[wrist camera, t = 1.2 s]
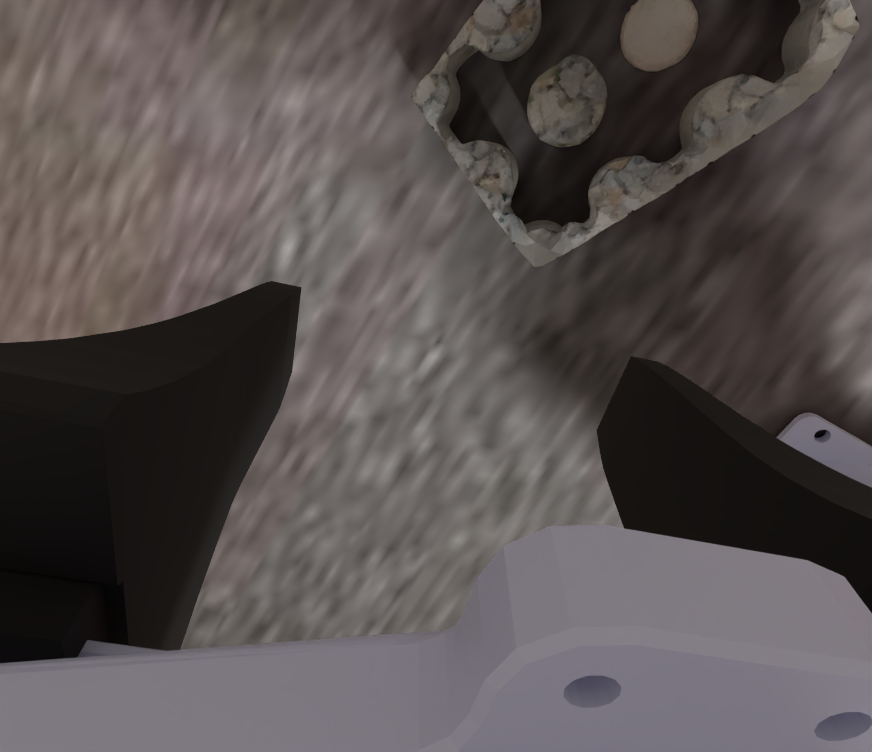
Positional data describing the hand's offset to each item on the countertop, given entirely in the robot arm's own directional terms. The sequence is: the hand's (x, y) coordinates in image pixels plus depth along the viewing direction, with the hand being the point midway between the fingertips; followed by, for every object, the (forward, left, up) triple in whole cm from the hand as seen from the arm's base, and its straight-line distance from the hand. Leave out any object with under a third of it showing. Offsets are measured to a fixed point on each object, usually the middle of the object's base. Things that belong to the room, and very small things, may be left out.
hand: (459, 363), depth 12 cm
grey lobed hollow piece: (0, -7, -10) cm, 13 cm away
